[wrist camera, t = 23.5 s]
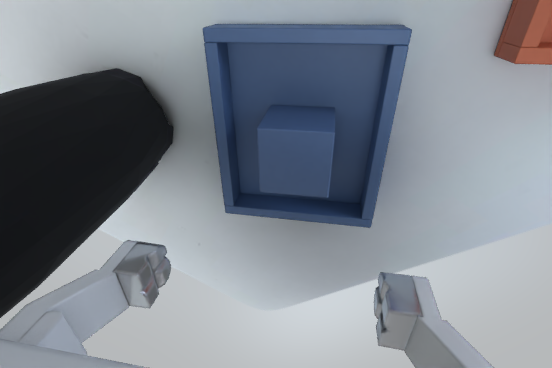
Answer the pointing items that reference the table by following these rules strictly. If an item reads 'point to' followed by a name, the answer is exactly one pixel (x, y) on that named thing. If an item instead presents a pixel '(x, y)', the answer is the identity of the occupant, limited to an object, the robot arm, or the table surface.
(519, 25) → the terracotta tray
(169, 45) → the table surface
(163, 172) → the table surface
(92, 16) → the table surface
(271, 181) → the blue block
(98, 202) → the portable speaker
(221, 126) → the blue tray
